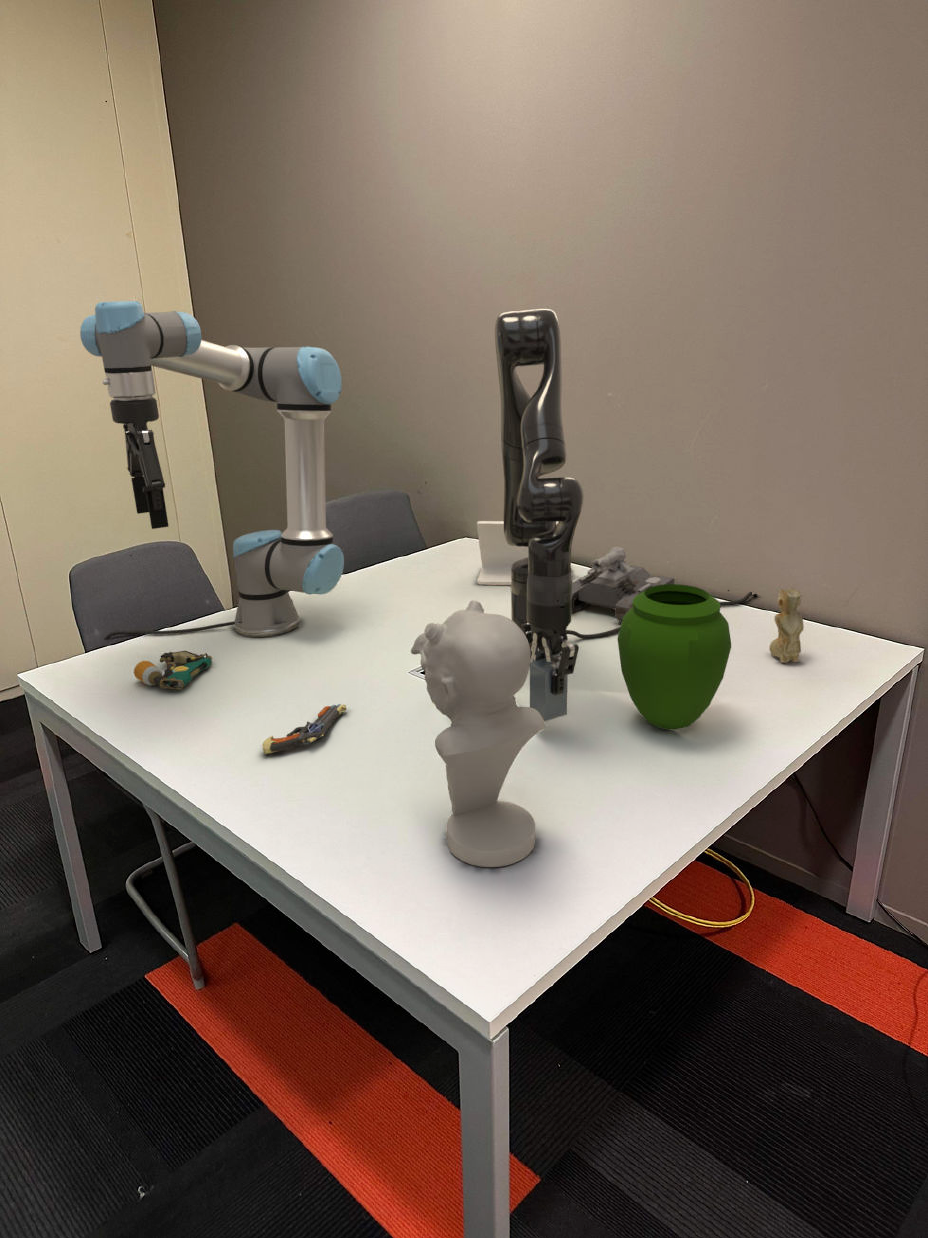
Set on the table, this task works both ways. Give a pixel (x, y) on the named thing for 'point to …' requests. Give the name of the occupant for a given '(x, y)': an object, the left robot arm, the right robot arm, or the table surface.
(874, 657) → the table surface
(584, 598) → the toy
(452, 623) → the bust sculpture
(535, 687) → the block
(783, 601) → the sculpture
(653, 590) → the vase
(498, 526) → the tablet stand
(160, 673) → the spray gun
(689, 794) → the table surface
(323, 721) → the toy gun
